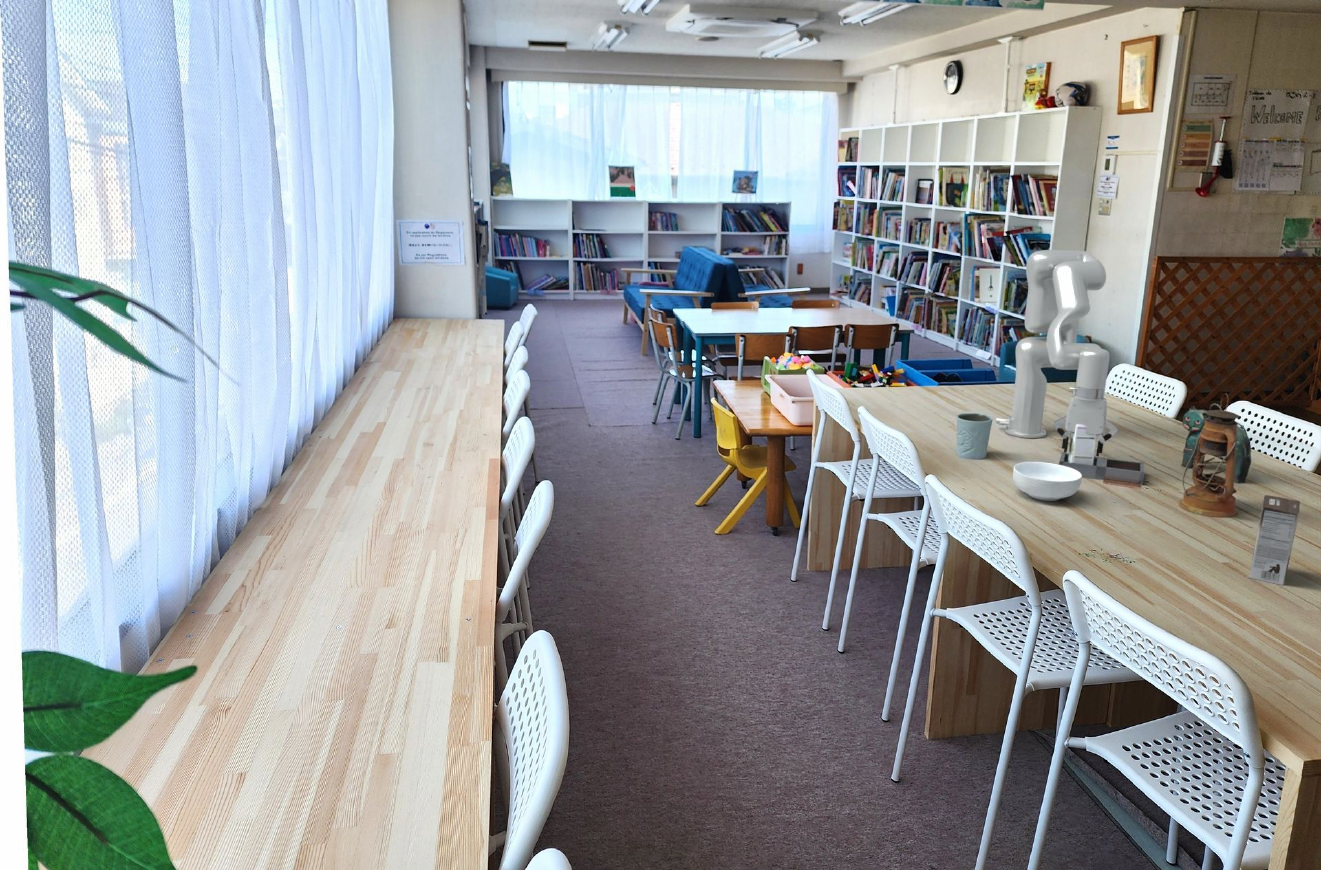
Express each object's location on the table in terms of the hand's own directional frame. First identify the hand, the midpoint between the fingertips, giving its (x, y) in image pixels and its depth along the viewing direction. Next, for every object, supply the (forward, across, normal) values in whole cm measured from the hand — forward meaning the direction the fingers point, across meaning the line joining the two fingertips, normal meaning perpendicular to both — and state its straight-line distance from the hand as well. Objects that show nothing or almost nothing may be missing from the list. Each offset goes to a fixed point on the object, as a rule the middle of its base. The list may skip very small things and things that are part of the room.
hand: (1081, 453), depth 264 cm
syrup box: (+6, 0, 0) cm, 6 cm away
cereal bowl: (+6, -7, -27) cm, 28 cm away
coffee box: (+6, +40, -59) cm, 72 cm away
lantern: (+6, +31, -18) cm, 36 cm away
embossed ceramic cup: (+6, -30, +2) cm, 31 cm away
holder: (+6, +5, -2) cm, 8 cm away
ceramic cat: (+6, +34, +16) cm, 38 cm away
